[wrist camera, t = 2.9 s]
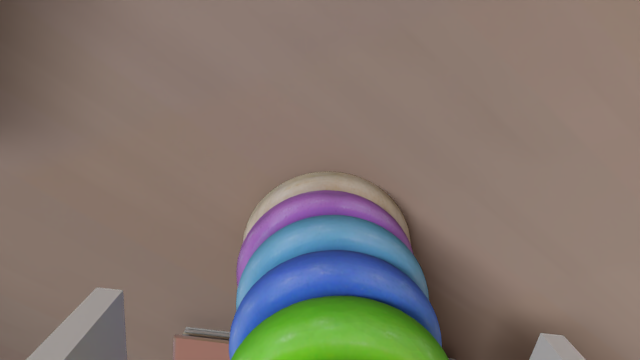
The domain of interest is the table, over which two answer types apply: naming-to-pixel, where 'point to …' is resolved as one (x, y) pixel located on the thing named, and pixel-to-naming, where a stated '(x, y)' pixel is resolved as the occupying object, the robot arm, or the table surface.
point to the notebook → (203, 345)
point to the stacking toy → (331, 277)
